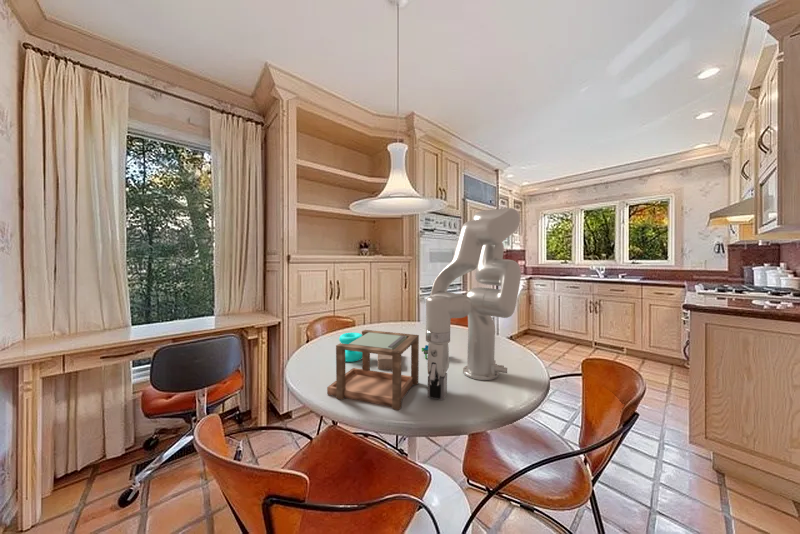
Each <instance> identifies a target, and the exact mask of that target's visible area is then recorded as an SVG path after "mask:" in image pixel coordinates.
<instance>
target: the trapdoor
mask: <svg viewBox="0 0 800 534" xmlns="http://www.w3.org/2000/svg"><path fill="white" fill-rule="evenodd" d="M406 339H407V336H399V335H389V334H380V333H370V332H368V333H367V334H365V335H363V336H361V337H360V338H358V339H356V340H355V341H353V342H351V343H349V344H351V345H359V346H368V347H376V348H385V349H393V350H394V349H395V348H397V347H398V346H399V345H400V344H401V343H402V342H404V341H405V340H406Z"/></svg>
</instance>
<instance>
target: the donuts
mask: <svg viewBox="0 0 800 534" xmlns="http://www.w3.org/2000/svg"><path fill="white" fill-rule="evenodd" d="M361 336H362V333H359V332H347V333H346V332H345V333H342V334H340V336H339V338H338V339H339V340H338V341H339V343H342V344H349V343H351V342H353V341H355V340H356V339H358V338H360V337H361ZM361 360H362V352H358V351H350V350H345V363H348V362H349V363H353V362H358V361H361Z"/></svg>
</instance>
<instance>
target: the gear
mask: <svg viewBox="0 0 800 534" xmlns="http://www.w3.org/2000/svg"><path fill="white" fill-rule="evenodd" d="M428 345H429V343H428V344H425V345H424V347H421V352H423V355H424V357H425V360H428Z"/></svg>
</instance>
